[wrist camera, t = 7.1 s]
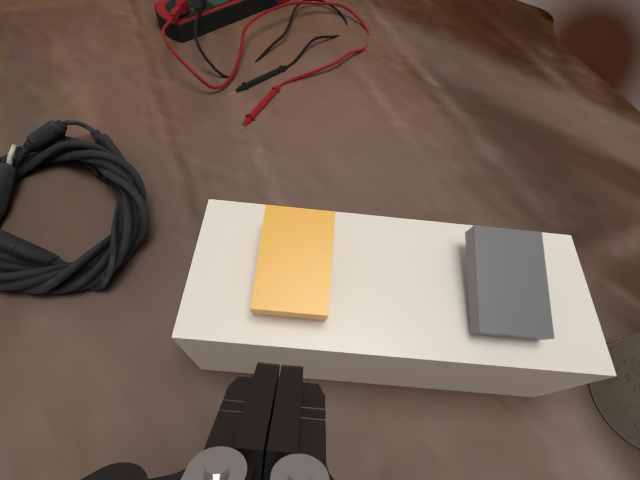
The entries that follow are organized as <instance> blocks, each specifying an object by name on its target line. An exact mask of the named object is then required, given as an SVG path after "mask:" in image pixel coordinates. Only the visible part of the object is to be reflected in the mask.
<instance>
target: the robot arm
mask: <svg viewBox="0 0 640 480" xmlns="http://www.w3.org/2000/svg"><path fill="white" fill-rule="evenodd" d="M303 368H304V366H294V365H284V364H282V365H281V371H280V364H273V363H263V362H258V363H257V366H256V369H255V372H254V376H253V378H248V377H238V378H237V379H236V380H235V381H233V382H232V383H231V384H230V385H229V386H228V388H227V391H226V394H225V396H224V400H223V401H222V404H221V407H220V410H219V412H218V414H217V417H216V420H215V422H214V425H213V427H212V430H211V433H210V435H209V438H208V441H207V443H206V446H205V448H204V451H202V452H200V453H199V454H197V455H196V456H195V457H194V458H193V459H192V460H191V461H190V463H189V465H188V466H187V468H186V469H185V470H183V471H181V472H178V473H175V474H172V475H168V476H162V477H157V478H152V479H148V478H147V474H146V472H145V471H144V469H142V468H141V467H140V466H138V465H136V464H133V463H115V464H112V465H108V466H106V467H103V468H101V469H99V470H97V471H95V472H94V473H92V474H90V475H88V476H87V477H85V478H83V479H81V480H334V479H333V478H332V476H331V475H330V473H329V471H328V468H327V465H326V427H325V395H324V393H323V391H322V390H321V388H320V386H319V385H318V384H310V383H302V381H303ZM279 372H280V376H279Z"/></svg>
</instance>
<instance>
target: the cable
mask: <svg viewBox="0 0 640 480" xmlns="http://www.w3.org/2000/svg"><path fill="white" fill-rule="evenodd" d="M67 125H79V126H81V127H84V128H85V129H87V130H89V131H90V135H91V136H92V137H93V138H94V139H95V142H96V144H95V143H92V142H88V141H82V140H80V139H77V138H72V137H66V136H65V134H66V130H67ZM73 159H76V160H79V161H82V162H83V163H84V164H85V165H86V166H87V167H88V168H89V169H90V170H91V171H92V172H93V173H94V174H95V175H96V176H97V177H99V178H100V179H102V180H103V181H104V182H106V183H110V185H111V186H112V188H113V189H114V191H115V194H116V198H117V205H116V209H115V212H114V217H113V221H112V227H111V235H109V236H108V237H107V238H105V239H104V240H103V241H101V242H100V243H98V244H97V245H96V246H94V247H93V248H92V249H90V250H88V251H87V252H86V253H85V254H83V255H82V256H81V257H80V258H78V259H77V260H76V261H74V262H70V263H67V262H65V261H63V260H60V259H59V256H58V255H56V254H54V253H52V252H50V251H48V250H46V249H43V248H41V247H38V246H36V245H34V244H32V243H30V242H28V241H25V240H23V239H21V238H18V237H16V236H14V235H12V234H10V233H7V232H5V231H3V230H0V290H2V291H12V290H19V289H20V290H21V291H23V292H24V293H27V294H41V293H44V292H47V293H52V294H62V293H68V292H71V291H81V290H86V289H90V290H94V291H97V290H101V289H103V288H104V287H105V286H106V285H107V284H108V282H109V280H110V279H111V277H112V274H113V272H114V271H115V270H116V269H117V268H118V266H120V265H121V264H123V263H124V262H125V261H126V260H128V259H129V258H130V257H131V256H132V254H133V253H134V252H135V250H136V249H137V247H138V245H139V243H140V242H141V241H142V240H143V238H144V236H145V234H146V232H147V229H148V225H149V214H148V209H147V206H146V194H145V188H144V184H143V181H142V179H141V177H140V175H139V174H138V172H137V171H136V170H135V168H134V167H133V166H132V165H131V164H129V163H128V162H127V161H126V160H125V158H124V157H123V156H122V154H121V153H120V151H119V150H118V149H117V147H116V146H115V145H114V143H113V142H112V140H111V139H110V138H109V136H108V135H106V134H101V133H100V132H99V130H94V129H93V128H92V127H91V126H89V125H87V124H85V123H83V122H81V121H77V120H66V121H63V122H62V121H60V120H57V121H54V120H51V121H49V122H48V123H46V124H45V125H43V126H42V127H40V128H39V129H37V130H36V131H34V132H33V133H31V134H30V135H28V136H27V141H26V142H25V143H24V144H22V145H20V146H17V145H12V146H11V148H10V151H9V153H8V155H5V156H3V157H0V220H1V218H2V217H3V216H4V214H5V212H6V209H7V207H8V204H9V198H10V194H11V191H12V189H13V185H14V182H15V181H17V180H18V179H20V178H21V177H22V176H24V175H25V174H27V173H28V172H29V171H31V170H32V169H33V168H35V167H36V166H37V165H39V164H44V163H56V162H63V161H68V160H73Z"/></svg>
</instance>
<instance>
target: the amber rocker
mask: <svg viewBox="0 0 640 480" xmlns="http://www.w3.org/2000/svg"><path fill="white" fill-rule="evenodd" d="M334 224H335V212H333V211H323V210H313V209H303V208H293V207H283V206H273V205H266V206H265V213H264V219H263V226H262V233H261V239H260V246H259V252H258V259H257V266H256V272H255V279H254V286H253V292H252V299H251V305H250V310H251V312H252V314H262V315H273V316H284V317H295V318H307V319H318V320H327V318H328V314H329V299H330V284H331V269H332V254H333V239H334Z"/></svg>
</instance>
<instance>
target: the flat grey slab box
mask: <svg viewBox="0 0 640 480" xmlns="http://www.w3.org/2000/svg"><path fill="white" fill-rule="evenodd" d="M465 241H466V262H467V286H468V305H469V326H470V334H476V335H487V336H498V337H509V338H520V339H531V340H548V339H554V331H553V322H552V314H551V305H550V297H549V288H548V280H547V271H546V263H545V254H544V246H543V237H542V232H535V231H525V230H515V229H505V228H495V227H485V226H475V225H474V226H473V227H471V228H470V229H469V230H468V231H466V232H465Z"/></svg>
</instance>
